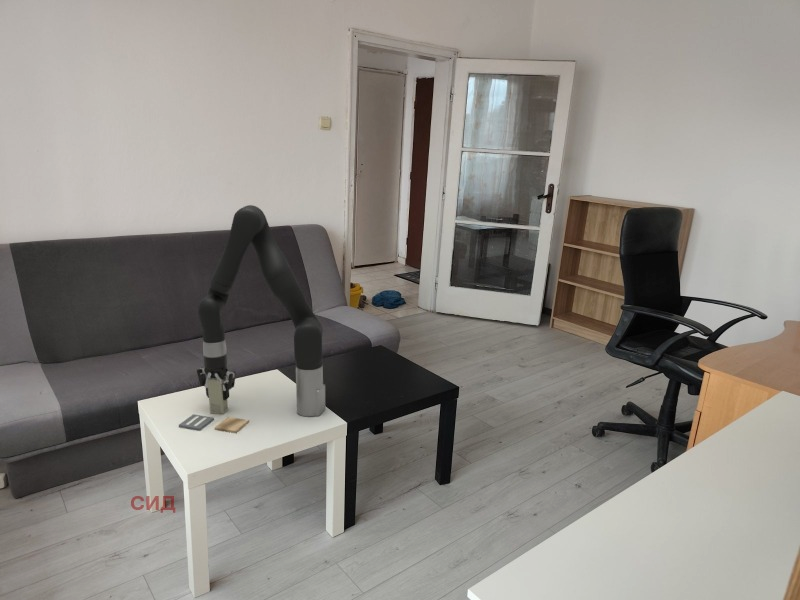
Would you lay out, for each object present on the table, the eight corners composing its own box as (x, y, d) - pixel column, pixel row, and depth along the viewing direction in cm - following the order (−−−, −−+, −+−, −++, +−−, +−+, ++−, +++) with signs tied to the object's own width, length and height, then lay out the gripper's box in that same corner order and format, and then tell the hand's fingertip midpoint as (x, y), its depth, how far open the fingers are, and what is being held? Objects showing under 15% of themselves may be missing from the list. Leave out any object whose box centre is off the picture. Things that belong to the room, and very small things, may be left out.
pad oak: (249, 422, 188) (248, 420, 188) (236, 433, 181) (236, 431, 180) (227, 418, 190) (227, 416, 190) (214, 429, 183) (214, 427, 182)
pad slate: (214, 419, 189) (213, 417, 189) (200, 430, 182) (199, 428, 182) (193, 416, 191) (193, 413, 191) (178, 427, 184) (178, 424, 183)
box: (228, 408, 197) (226, 375, 194) (223, 414, 193) (221, 380, 190) (214, 407, 198) (211, 374, 194) (208, 413, 193) (206, 379, 190)
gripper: (239, 351, 191) (242, 396, 196) (202, 346, 195) (205, 391, 199) (227, 358, 184) (230, 405, 189) (189, 353, 188) (193, 399, 192)
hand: (217, 398), depth 194 cm, fingers closed on box, 5 cm apart
